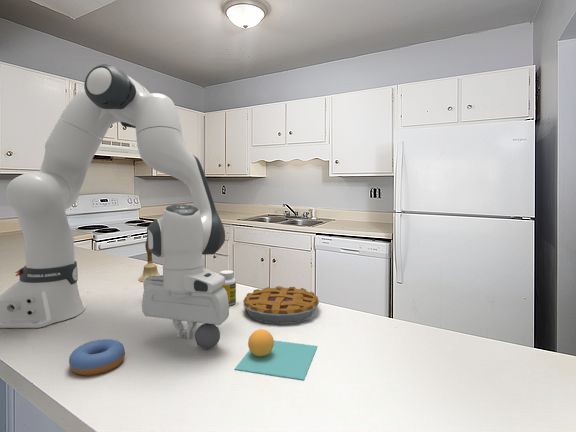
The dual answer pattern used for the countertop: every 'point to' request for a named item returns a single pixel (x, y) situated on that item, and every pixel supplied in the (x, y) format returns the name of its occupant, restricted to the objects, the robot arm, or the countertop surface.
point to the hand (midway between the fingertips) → (185, 337)
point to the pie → (281, 304)
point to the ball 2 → (261, 343)
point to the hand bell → (149, 267)
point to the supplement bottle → (229, 286)
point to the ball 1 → (207, 336)
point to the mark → (280, 361)
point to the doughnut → (96, 357)
